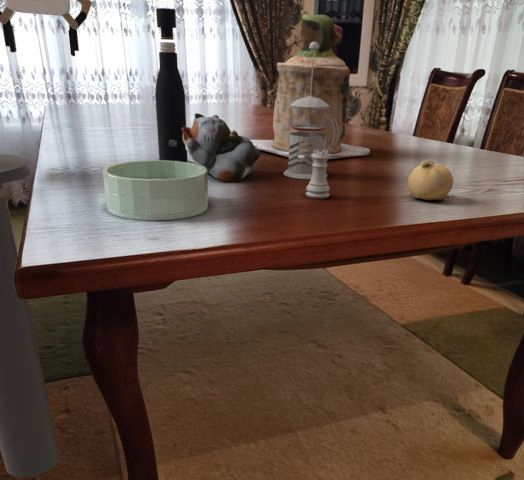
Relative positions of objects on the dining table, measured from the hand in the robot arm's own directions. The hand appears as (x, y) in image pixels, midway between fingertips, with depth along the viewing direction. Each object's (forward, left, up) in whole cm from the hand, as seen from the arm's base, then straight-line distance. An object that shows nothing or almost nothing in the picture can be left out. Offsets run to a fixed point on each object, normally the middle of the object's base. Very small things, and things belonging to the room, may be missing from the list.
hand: (43, 53), depth 91 cm
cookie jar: (+66, +12, -22) cm, 70 cm away
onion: (+57, -40, -22) cm, 73 cm away
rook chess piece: (+39, -30, -22) cm, 54 cm away
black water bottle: (+27, +10, -22) cm, 36 cm away
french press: (+49, -13, -22) cm, 55 cm away
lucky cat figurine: (+31, -7, -22) cm, 38 cm away
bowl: (+10, -25, -22) cm, 34 cm away
